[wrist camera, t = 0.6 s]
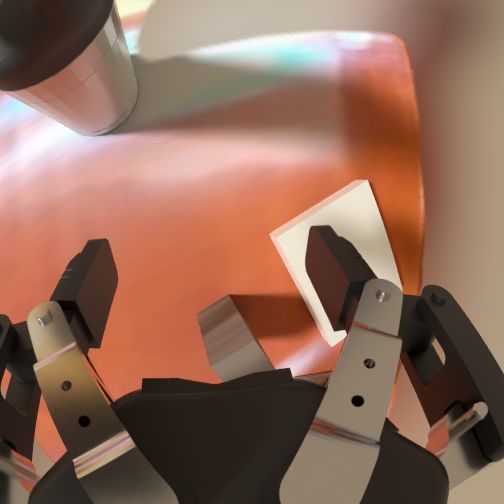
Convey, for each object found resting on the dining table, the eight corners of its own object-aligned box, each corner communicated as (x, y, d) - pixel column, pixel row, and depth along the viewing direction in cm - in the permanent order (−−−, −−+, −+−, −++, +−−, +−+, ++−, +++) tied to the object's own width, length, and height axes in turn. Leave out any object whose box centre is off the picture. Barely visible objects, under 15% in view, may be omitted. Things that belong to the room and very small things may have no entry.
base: (268, 233, 34) (276, 237, 31) (356, 179, 35) (367, 180, 33) (323, 338, 39) (331, 347, 37) (392, 285, 41) (402, 290, 39)
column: (196, 314, 33) (210, 366, 23) (228, 294, 34) (254, 340, 24) (216, 340, 35) (236, 395, 25) (246, 321, 35) (276, 371, 25)
